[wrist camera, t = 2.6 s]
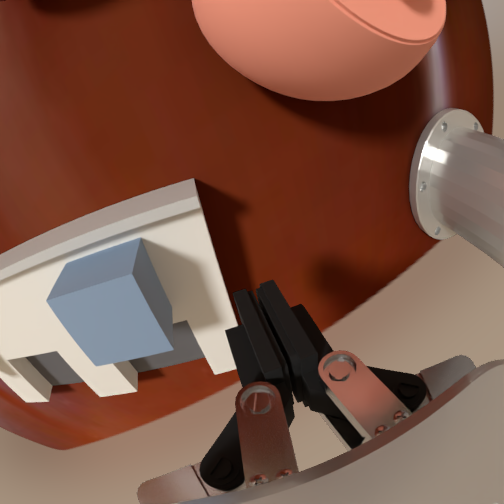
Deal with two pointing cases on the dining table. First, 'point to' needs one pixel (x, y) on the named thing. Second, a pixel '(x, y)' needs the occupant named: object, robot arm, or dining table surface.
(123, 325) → the block
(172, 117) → the dining table surface
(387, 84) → the sugar bowl
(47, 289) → the box
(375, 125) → the dining table surface
